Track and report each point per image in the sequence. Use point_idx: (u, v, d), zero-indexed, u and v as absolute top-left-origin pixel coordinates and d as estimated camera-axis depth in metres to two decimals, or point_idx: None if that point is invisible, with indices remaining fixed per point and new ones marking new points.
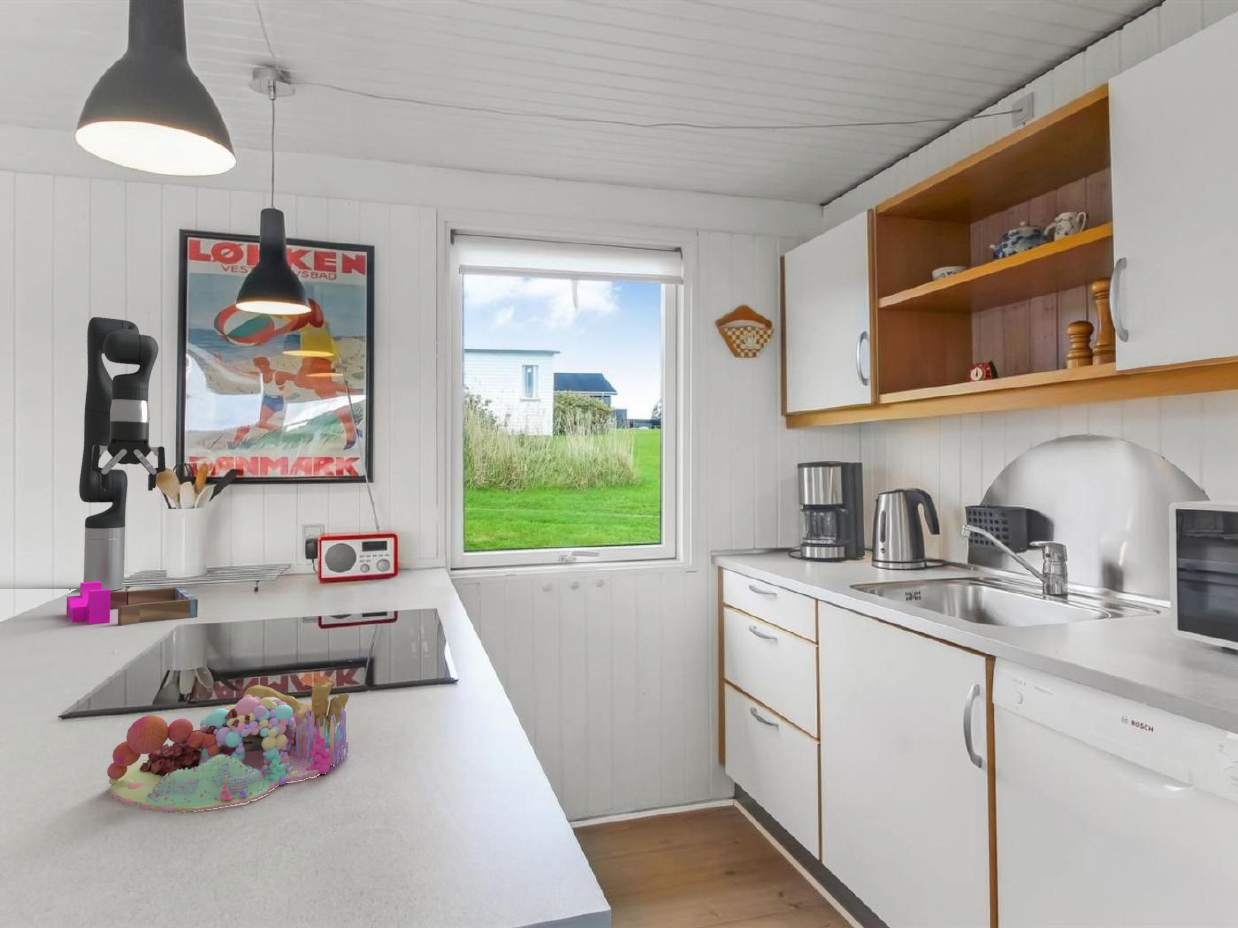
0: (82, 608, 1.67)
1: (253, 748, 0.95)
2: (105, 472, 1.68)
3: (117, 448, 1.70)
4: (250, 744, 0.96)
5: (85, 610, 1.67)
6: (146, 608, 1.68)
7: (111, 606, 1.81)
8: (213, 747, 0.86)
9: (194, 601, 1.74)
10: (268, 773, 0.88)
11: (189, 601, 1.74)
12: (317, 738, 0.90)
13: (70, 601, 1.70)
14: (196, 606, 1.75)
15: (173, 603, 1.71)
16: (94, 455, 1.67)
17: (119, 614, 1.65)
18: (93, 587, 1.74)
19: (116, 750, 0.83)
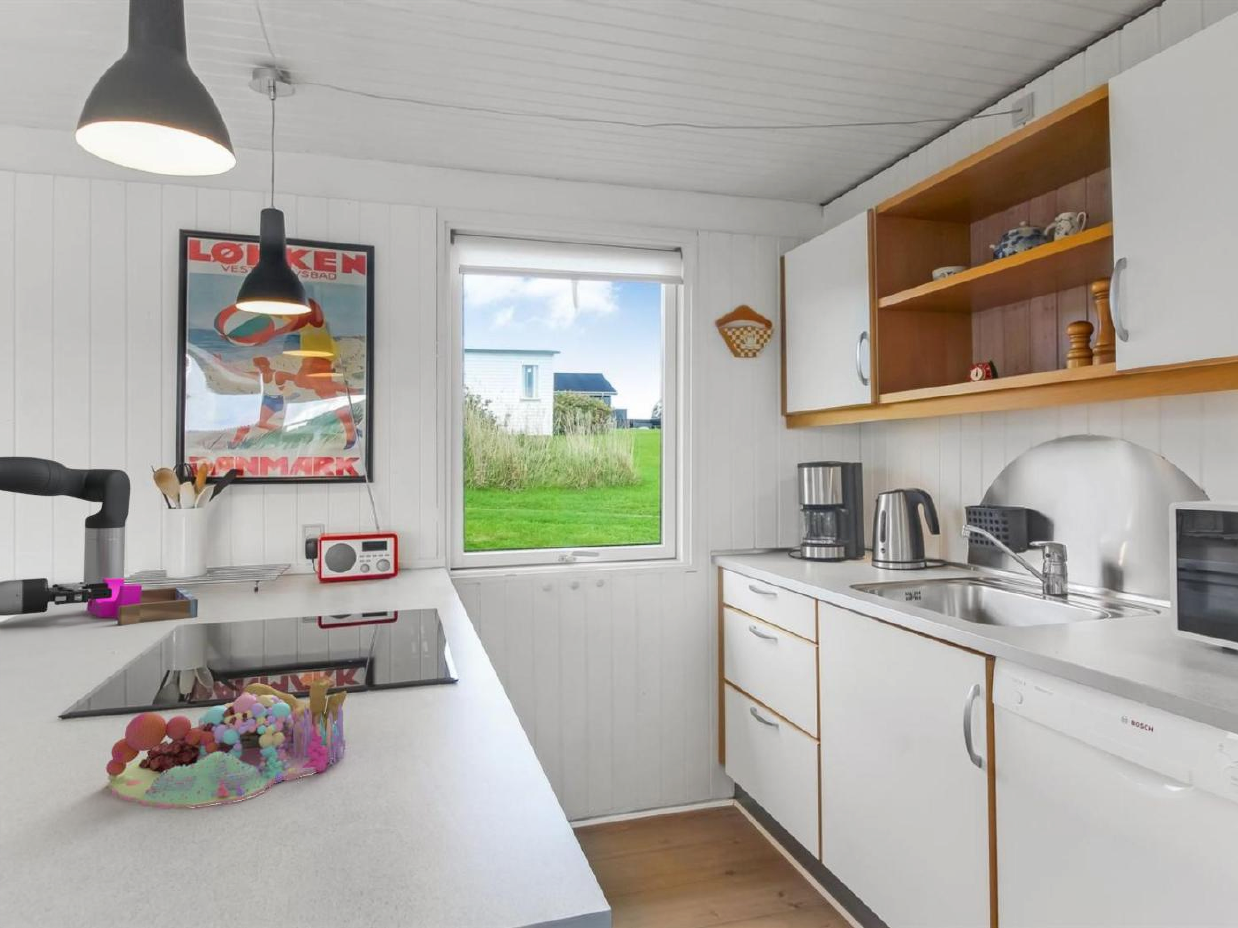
0: (110, 602, 1.72)
1: (251, 745, 0.95)
2: None
3: None
4: (248, 741, 0.97)
5: (113, 604, 1.72)
6: (146, 608, 1.68)
7: None
8: (211, 744, 0.87)
9: (194, 601, 1.74)
10: (265, 770, 0.88)
11: (189, 601, 1.74)
12: (314, 735, 0.91)
13: None
14: (196, 606, 1.75)
15: (173, 603, 1.71)
16: None
17: (119, 614, 1.65)
18: (116, 583, 1.79)
19: (115, 746, 0.84)
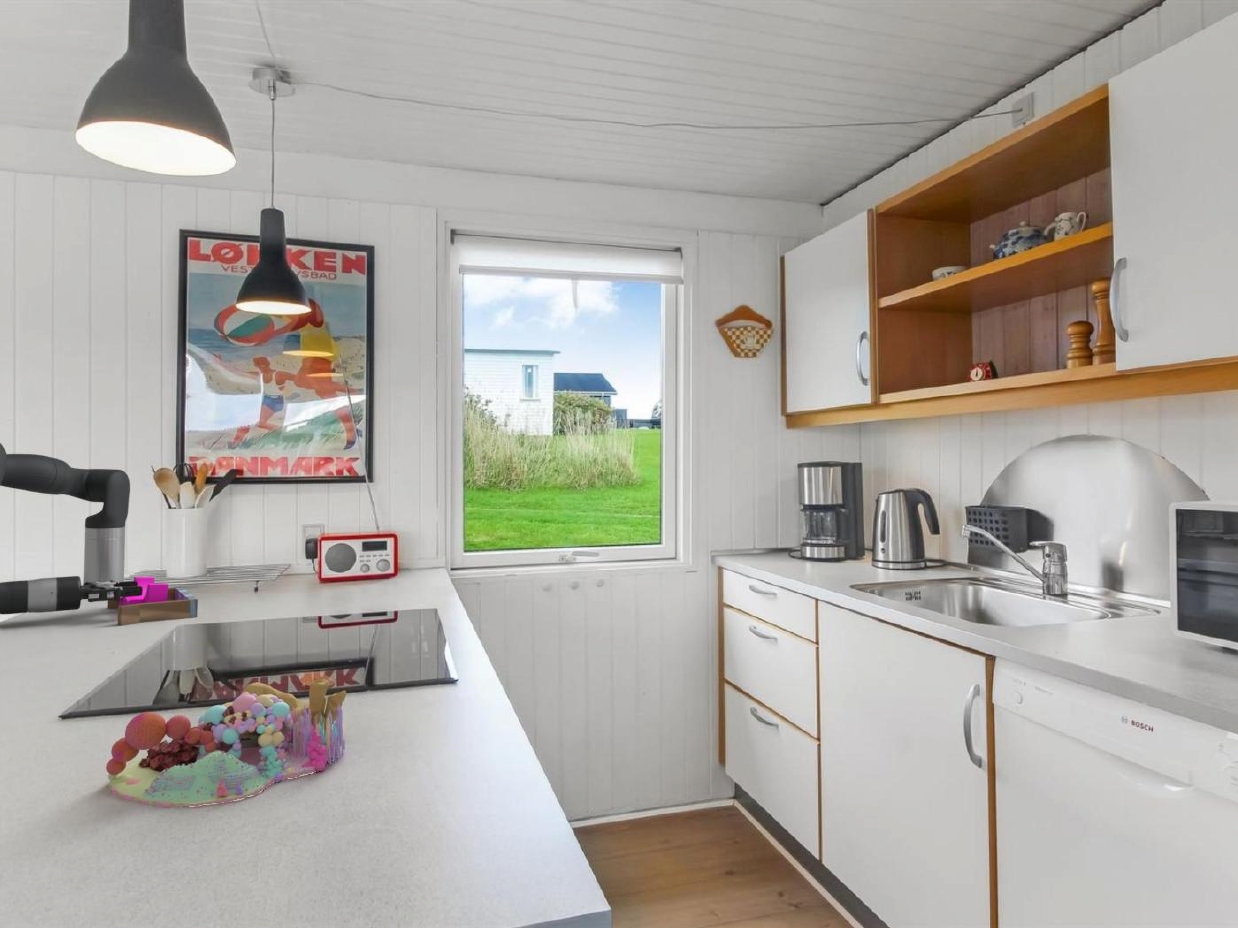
0: (139, 601, 1.75)
1: (251, 744, 0.96)
2: None
3: None
4: (248, 741, 0.97)
5: None
6: (146, 608, 1.68)
7: (111, 606, 1.81)
8: (211, 744, 0.87)
9: (194, 601, 1.74)
10: (264, 769, 0.89)
11: (189, 601, 1.74)
12: (313, 735, 0.91)
13: None
14: (196, 606, 1.75)
15: (173, 603, 1.71)
16: None
17: (119, 614, 1.65)
18: (146, 582, 1.82)
19: (115, 745, 0.84)
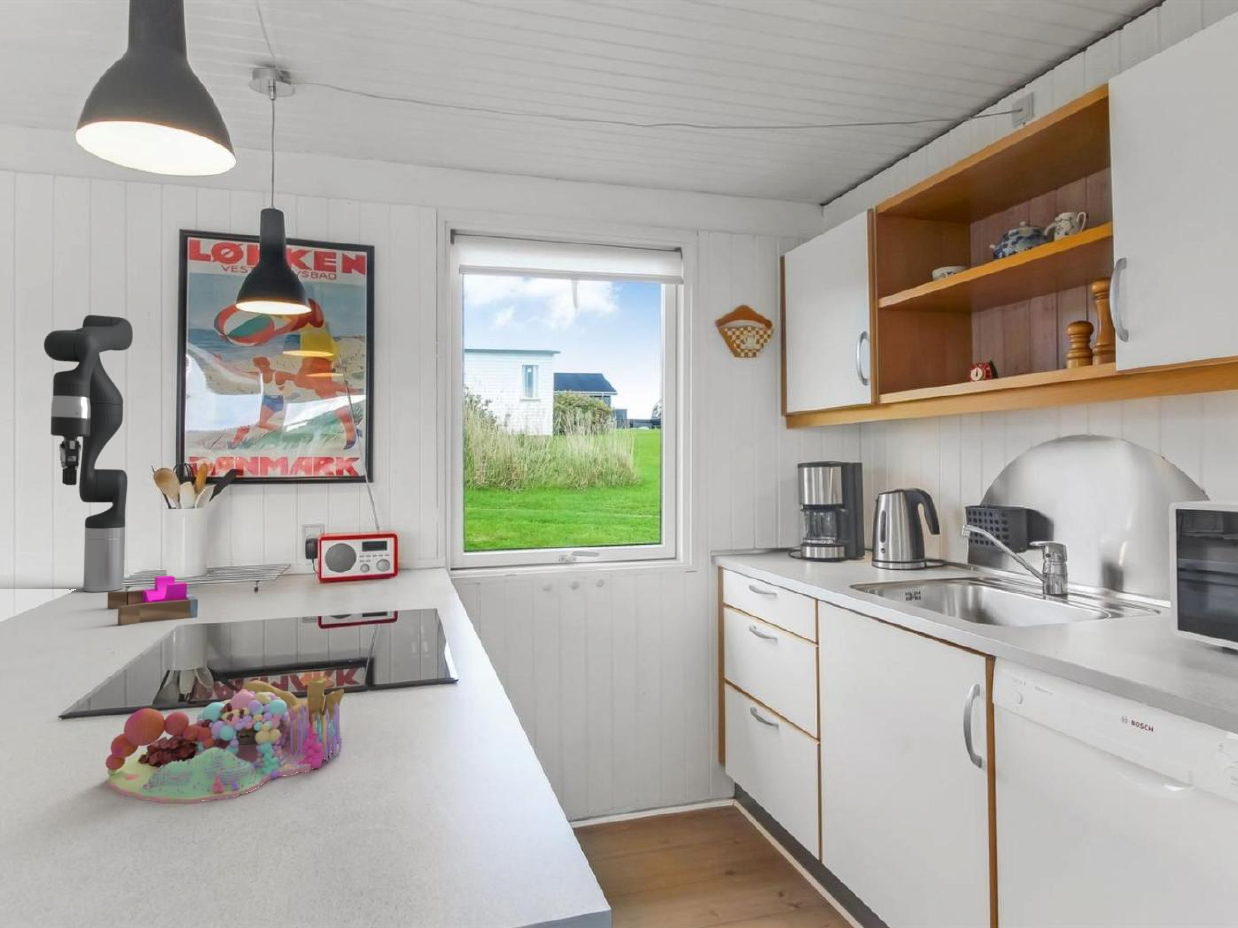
0: (160, 600, 1.78)
1: (249, 741, 0.97)
2: (61, 466, 1.80)
3: None
4: (247, 738, 0.98)
5: None
6: (146, 608, 1.68)
7: (111, 606, 1.81)
8: (208, 740, 0.88)
9: (194, 601, 1.74)
10: (261, 766, 0.90)
11: (189, 601, 1.74)
12: (310, 733, 0.92)
13: (147, 594, 1.81)
14: (196, 606, 1.75)
15: (173, 603, 1.71)
16: None
17: (119, 614, 1.65)
18: (167, 581, 1.85)
19: (114, 741, 0.86)
